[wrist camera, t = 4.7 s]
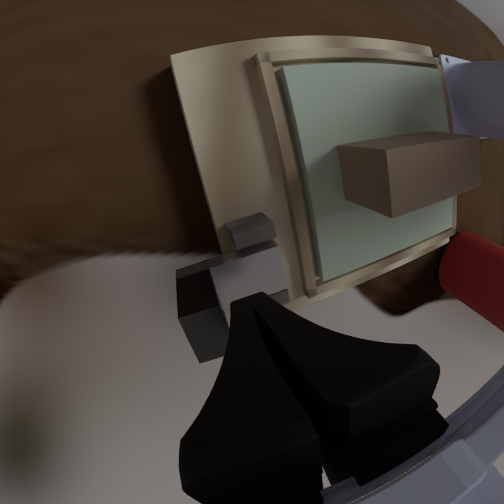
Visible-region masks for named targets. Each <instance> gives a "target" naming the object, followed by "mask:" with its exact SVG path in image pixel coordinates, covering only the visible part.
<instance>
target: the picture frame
mask: <svg viewBox="0 0 504 504" xmlns="http://www.w3.org/2000/svg"><path fill="white" fill-rule="evenodd" d="M170 60H171V69H172V73H173V77H174V81H175V85H176V89H177V93H178V97H179V101H180V105H181V108H182V112H183V116H184V120H185V124H186V128H187V131H188V135H189V139H190V143H191V146H192V150H193V154H194V157H195V161H196V165H197V168H198V172H199V175H200V179H201V183H202V186H203V190H204V193H205V197H206V200H207V204H208V207H209V211H210V214H211V217H212V221H213V224H214V228H215V231H216V234H217V238H218V241H219V244H220V248H221V251H222V254H223V255H224V254H227V253H230V252H233V251H236V250H239V249H243V248H246V247H249V246H252V245H255V244H258V243H261V242H264V241H267V240H271V239H273V240H274V241H275V242H276V243H277V244H278V245H279V247H280V252H281V256H282V261H283V266H284V271H285V276H286V281H287V286H288V288H287V289H284V290H281V291H279V292H276V293H273V294H270V295H269V296H270V297H271V298H273V299H274V300H275V301H277V302H278V303H280V304H281V305H283V306H284V307H286V308H287V309H289V310H291V311H294V310H296V309H299V308H302V307H304V306H307V305H309V304H312V303H315V302H317V301H319V300H322V299H324V298H327V297H329V296H332V295H335V294H337V293H339V292H342V291H344V290H346V289H349V288H351V287H354V286H356V285H358V284H361V283H363V282H365V281H368V280H370V279H372V278H375V277H377V276H379V275H381V274H384V273H386V272H388V271H390V270H392V269H395V268H397V267H399V266H401V265H403V264H405V263H408V262H410V261H412V260H414V259H416V258H418V257H420V256H422V255H424V254H426V253H428V252H430V251H432V250H434V249H436V248H438V247H440V246H442V245H444V244H446V243H448V242H449V237H450V236H452V235H454V234H456V214H457V195H456V196H454V197H453V214H452V227H451V228H449V229H447V230H444V231H442V232H440V233H438V234H436V235H434V236H431V237H429V238H427V239H425V240H422V241H420V242H418V243H416V244H414V245H411V246H409V247H407V248H404V249H402V250H400V251H397V252H395V253H393V254H390V255H388V256H386V257H383V258H381V259H379V260H376V261H374V262H371V263H369V264H367V265H364V266H362V267H359V268H357V269H354V270H352V271H349V272H347V273H344V274H342V275H339V276H337V277H334V278H332V279H329V280H326V281H323V280H321V279H320V278H319V277H318V276H317V275H316V269H315V262H314V255H313V249H312V242H311V236H310V230H309V224H308V218H307V212H306V206H305V201H304V195H303V190H302V185H301V179H300V174H299V169H298V164H297V159H296V154H295V150H294V145H293V140H292V136H291V131H290V126H289V122H288V118H287V113H286V109H285V105H284V101H283V97H282V92H281V88H280V84H279V81H278V77H277V73H276V71H277V70H278V69H280V68H281V67H283V66H293V65H305V64H321V63H383V64H398V65H410V66H419V67H427V68H435V69H438V70H439V74H440V79H441V84H442V89H443V94H444V100H445V106H446V112H447V119H448V127H449V133H453V125H452V117H451V110H450V104H449V98H448V92H447V87H446V82H445V77H444V73H443V68H442V64H441V60H440V58H437V57H433V56H432V52H431V48H430V47H428V46H423V45H418V44H412V43H406V42H400V41H393V40H385V39H376V38H365V37H350V36H290V37H275V38H263V39H254V40H246V41H239V42H232V43H226V44H220V45H214V46H209V47H204V48H199V49H194V50H190V51H186V52H182V53H178V54H174V55H170Z"/></svg>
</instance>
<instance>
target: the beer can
mask: <svg viewBox="0 0 504 504" xmlns="http://www.w3.org/2000/svg"><path fill="white" fill-rule="evenodd" d="M438 277H439V282H440V285H441V287H442V288H443V289H444V290H445V291H446V292H448V293H449V294H451V295H452V296H454V297H455V298H457V299H458V300H460V301H461V302H463V303H464V304H465V305H467V306H468V307H470V308H471V309H473V310H474V311H475V312H477V313H478V314H480V315H481V316H482V317H484V318H485V319H486V320H488V321H489V322H491V323H492V324H493V325H495V326H496V327H497V328H499V329H500V330H502V331H503V332H504V248H503V247H501V246H499V245H497V244H495V243H493V242H491V241H489V240H487V239H484V238H482V237H480V236H478V235H476V234H473V233H471V232H469V231H463V232H460V233H458V234H457V235H455V236H454V237H453V238H452V239H451V241H450V242H449V243H448V245H447V246H446V248H445V250H444V252H443V255H442V257H441V260H440V265H439V274H438Z"/></svg>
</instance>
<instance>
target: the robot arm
mask: <svg viewBox="0 0 504 504" xmlns="http://www.w3.org/2000/svg"><path fill="white" fill-rule="evenodd" d="M438 58H440V60H441V64H442V68H443V73H444V77H445V82H446V87H447V92H448V98H449V104H450V110H451V117H452V125H453V133H456V134H464V135H472V136H479V137H480V139H487V138H492V139H498V140H504V61H482V62H471V61H467V60H463V59H459V58H456V57H451V56H447V55H443V54H442V55H438ZM230 310H231V318H230V329H229V336H228V341H227V346H226V351H225V355H224V358H223V362H222V365H221V368H220V371H219V374H218V376H217V379H216V381H215V384H214V386H213V389H212V390H211V393H210V395H209V397H208V398H207V400H206V402H205V404H204V406H203V407H202V409H201V411H200V413H199V414H198V416H197V418H196V419H195V421H194V422H193V424H192V425H191V426H190V428H189V429H188V431H187V432H186V434H185V435H184V436H183V437H182V439H181V441H180V449H179V472H180V478H181V484H182V490H183V491H184V492H185V493H186V494H187V495H189V496H190V497H192V498H193V499H195V500H196V501H198V502H200V503H201V504H348V503H349V504H504V478H503V477H502V475H501V474H500V473H499V472H498V471H497V469H496V468H495V467H494V466H493V463H494V462H495V461H496V460H497V459H498V458H499V457H500V456H501V455H502V454H503V453H504V365H503V366H502V367H501V369H500V370H499V371H498V372H497V373H496V374H495V375H494V376H493V377H492V378H491V379H490V380H489V381H488V382H487V383H486V384H485V385H484V386H483V387H482V388H481V389H479V390H478V391H477V392H476V393H475V394H474V395H473V396H472V397H471V398H469V399H468V400H467V401H466V402H465V403H464V404H462V405H461V406H460V407H459V408H458V409H457V410H455V411H454V412H453V413H452V414H450V415H449V416H448V417H447V418H445V419H444V418H443V417H442V416H441V414H439V412H438V411H437V410H436V409H437V408H438V404H437V403H436V401H435V400H434V399H433V398H432V395H433V393H434V390H435V388H436V385H437V382H438V379H439V375H440V366H439V364H438V363H437V362H436V361H435V360H434V359H433V358H432V357H431V356H430V355H429V354H428V353H426V352H425V351H424V350H423V349H422V348H420V347H419V346H418V345H415V344H395V343H384V342H378V341H371V340H365V339H360V338H356V337H352V336H348V335H345V334H341V333H338V332H335V331H332V330H329V329H327V328H324V327H322V326H319V325H317V324H315V323H313V322H311V321H309V320H307V319H305V318H303V317H301V316H299V315H297V314H296V313H294V312H292V311H291V310H289V309H287V308H286V307H284V306H283V305H281V304H280V303H278V302H277V301H275V300H274V299H273V298H271V297H270V296H269V295H267V294H266V293H264V292H262V291H261V292H258V293H255V294H252V295H249V296H246V297H243V298H240V299H237V300H234V301H232V302H231V303H230ZM430 455H431V456H430ZM429 456H430V457H429ZM426 458H427V459H426ZM425 459H426V460H425ZM423 460H424V461H423ZM422 461H423V462H422ZM420 462H421V463H420ZM419 463H420V464H419ZM417 464H418V465H417ZM416 465H417V466H416ZM322 466H323V468H324V471H325V473H326V475H327V477H328V480H329V482H330V484H331V486H330V487H327V488H325V489H323V482H322V473H323V470H322ZM414 466H415V467H414ZM413 467H414V468H413ZM411 468H412V469H411ZM410 469H411V470H410ZM408 470H409V471H408ZM407 471H408V472H407ZM405 472H406V473H405ZM403 473H405V474H403ZM402 474H403V475H402ZM400 475H401V476H400ZM399 476H400V477H399ZM397 477H398V478H397ZM395 478H396V479H395ZM394 479H395V480H394ZM392 480H393V481H392ZM390 481H391V482H390ZM389 482H390V483H389ZM387 483H388V484H387ZM385 484H386V485H385ZM383 485H384V486H383ZM382 486H383V487H382ZM380 487H381V488H380ZM378 488H379V489H378ZM376 489H377V490H376ZM374 490H375V491H374ZM372 491H374V492H372ZM370 492H372V493H370ZM368 493H370V494H368ZM366 494H368V495H366ZM364 495H366V496H364ZM362 496H364V497H362ZM360 497H362V498H360ZM358 498H360V499H358ZM356 499H358V500H356ZM354 500H356V501H354ZM352 501H354V502H352ZM350 502H351V503H350Z"/></svg>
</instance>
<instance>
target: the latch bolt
mask: <svg viewBox="0 0 504 504" xmlns="http://www.w3.org/2000/svg"><path fill="white" fill-rule="evenodd" d="M287 288H288V286H287V281H286V276H285V271H284V266H283V261H282V256H281V252H280V247H279V245H278V244H277V243H276V242H275V241H274V240H273V239H271V240H267V241H264V242H261V243H258V244H255V245H252V246H249V247H246V248H243V249H239V250H236V251H233V252H230V253H227V254H224V255H221V256H218V257H215V258H212V259H209V260H205V261H202V262H199V263H196V264H193V265H190V266H187V267H184V268H181V269H178V270H176V289H177V310H178V319H179V321H180V324H181V326H182V328H183V330H184V332H185V334H186V336H187V338H188V341H189V343H190V345H191V347H192V349H193V351H194V353H195V355H196V357H197V359H198V361H199V363H203V362H206V361H210V360H213V359H216V358H219V357H223V356H224V355H225V351H226V346H227V341H228V336H229V329H230V328H229V326H228V322H227V319H226V316H225V313H224V310H226V309H229V308H230V303H231V302H232V301H234V300H237V299H240V298H243V297H246V296H249V295H252V294H255V293H258V292H261V291H262V292H264V293H266V294H267V295H270V294H273V293H276V292H279V291H281V290H284V289H287Z"/></svg>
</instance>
